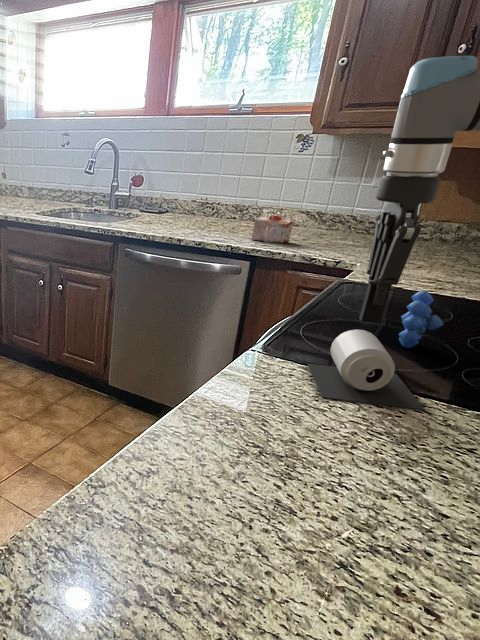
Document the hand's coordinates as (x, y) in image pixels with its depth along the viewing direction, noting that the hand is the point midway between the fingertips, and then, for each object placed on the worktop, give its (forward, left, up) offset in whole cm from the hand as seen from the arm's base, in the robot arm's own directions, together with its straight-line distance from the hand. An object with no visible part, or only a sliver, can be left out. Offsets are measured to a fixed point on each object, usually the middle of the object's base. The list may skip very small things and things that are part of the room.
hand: (369, 320), depth 89 cm
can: (0, -4, -6) cm, 7 cm away
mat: (0, +4, -10) cm, 11 cm away
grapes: (-14, -18, -11) cm, 25 cm away
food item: (0, -128, -11) cm, 128 cm away
